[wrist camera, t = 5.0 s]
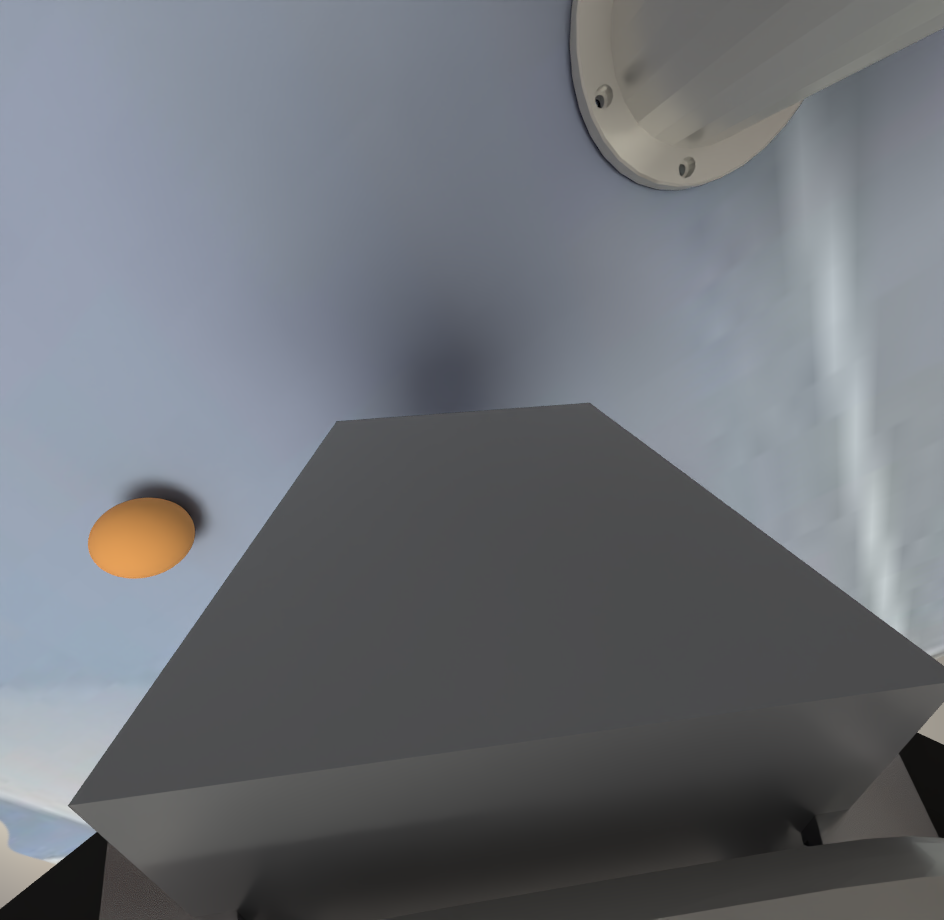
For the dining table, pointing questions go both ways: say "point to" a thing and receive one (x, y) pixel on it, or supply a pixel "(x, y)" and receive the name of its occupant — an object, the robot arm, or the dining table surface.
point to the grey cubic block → (498, 682)
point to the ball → (141, 538)
